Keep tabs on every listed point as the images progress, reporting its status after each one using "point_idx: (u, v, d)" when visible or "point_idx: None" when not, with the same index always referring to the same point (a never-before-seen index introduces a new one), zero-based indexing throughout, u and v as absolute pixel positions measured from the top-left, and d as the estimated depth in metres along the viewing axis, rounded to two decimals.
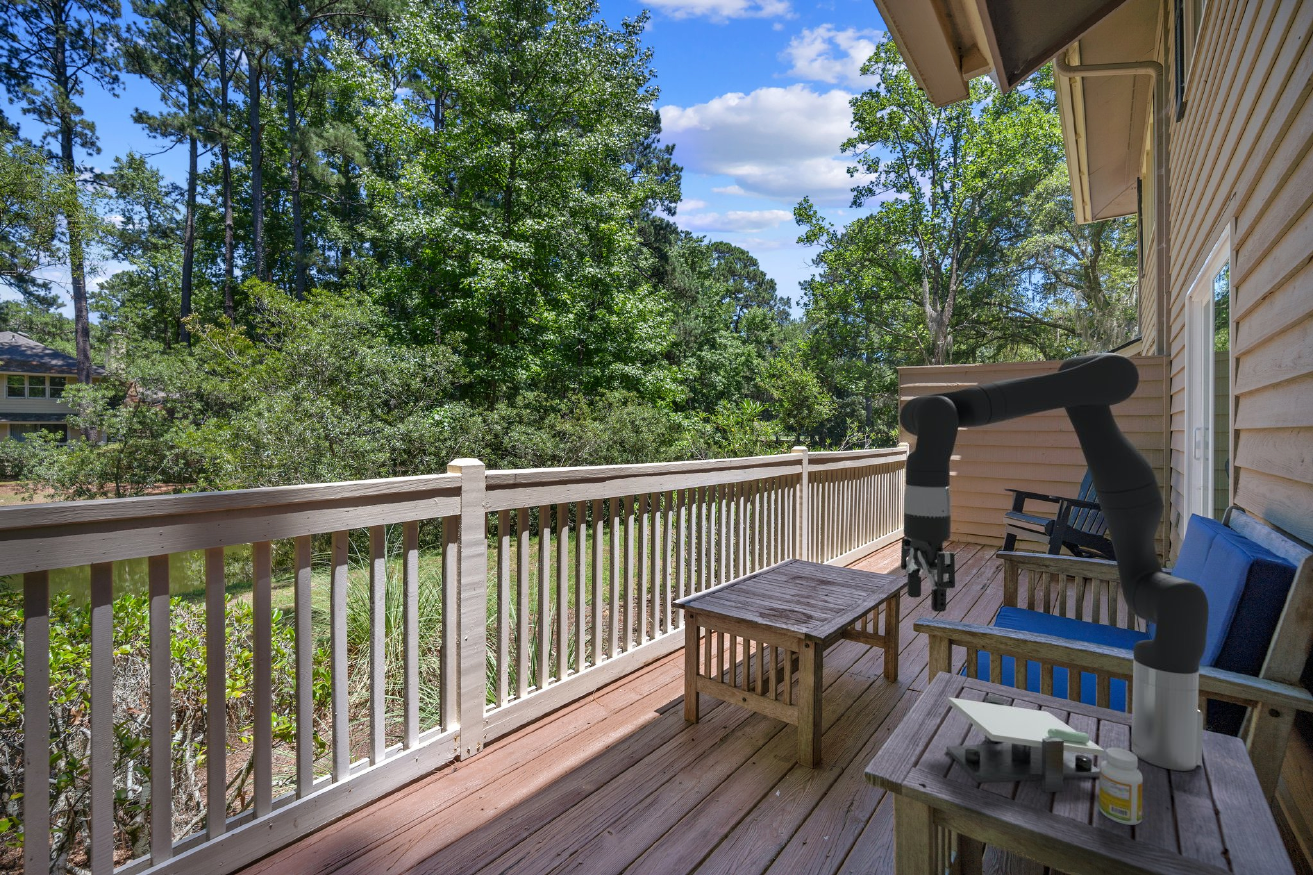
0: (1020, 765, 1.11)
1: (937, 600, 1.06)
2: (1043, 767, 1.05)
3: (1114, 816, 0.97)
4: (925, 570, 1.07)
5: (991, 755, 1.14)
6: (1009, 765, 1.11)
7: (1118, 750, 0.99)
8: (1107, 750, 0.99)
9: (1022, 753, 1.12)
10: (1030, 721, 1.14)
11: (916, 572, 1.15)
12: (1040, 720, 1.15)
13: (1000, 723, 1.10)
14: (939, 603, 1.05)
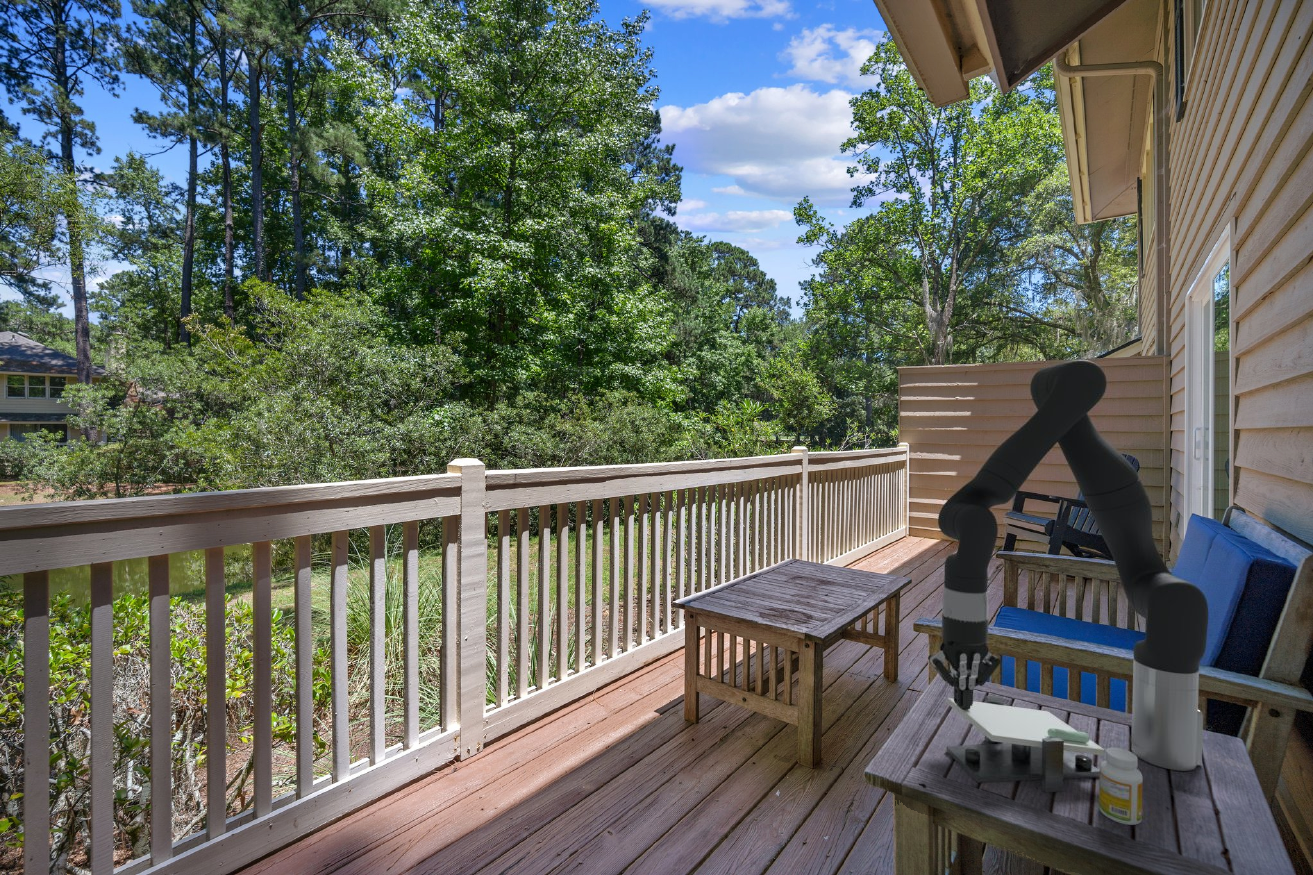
0: (1020, 765, 1.11)
1: (971, 697, 1.15)
2: (1043, 767, 1.05)
3: (1114, 816, 0.97)
4: (974, 672, 1.13)
5: (991, 755, 1.14)
6: (1009, 765, 1.11)
7: (1118, 750, 0.99)
8: (1107, 750, 0.99)
9: (1022, 753, 1.12)
10: (1030, 721, 1.14)
11: None
12: (1040, 720, 1.15)
13: (1000, 724, 1.10)
14: None
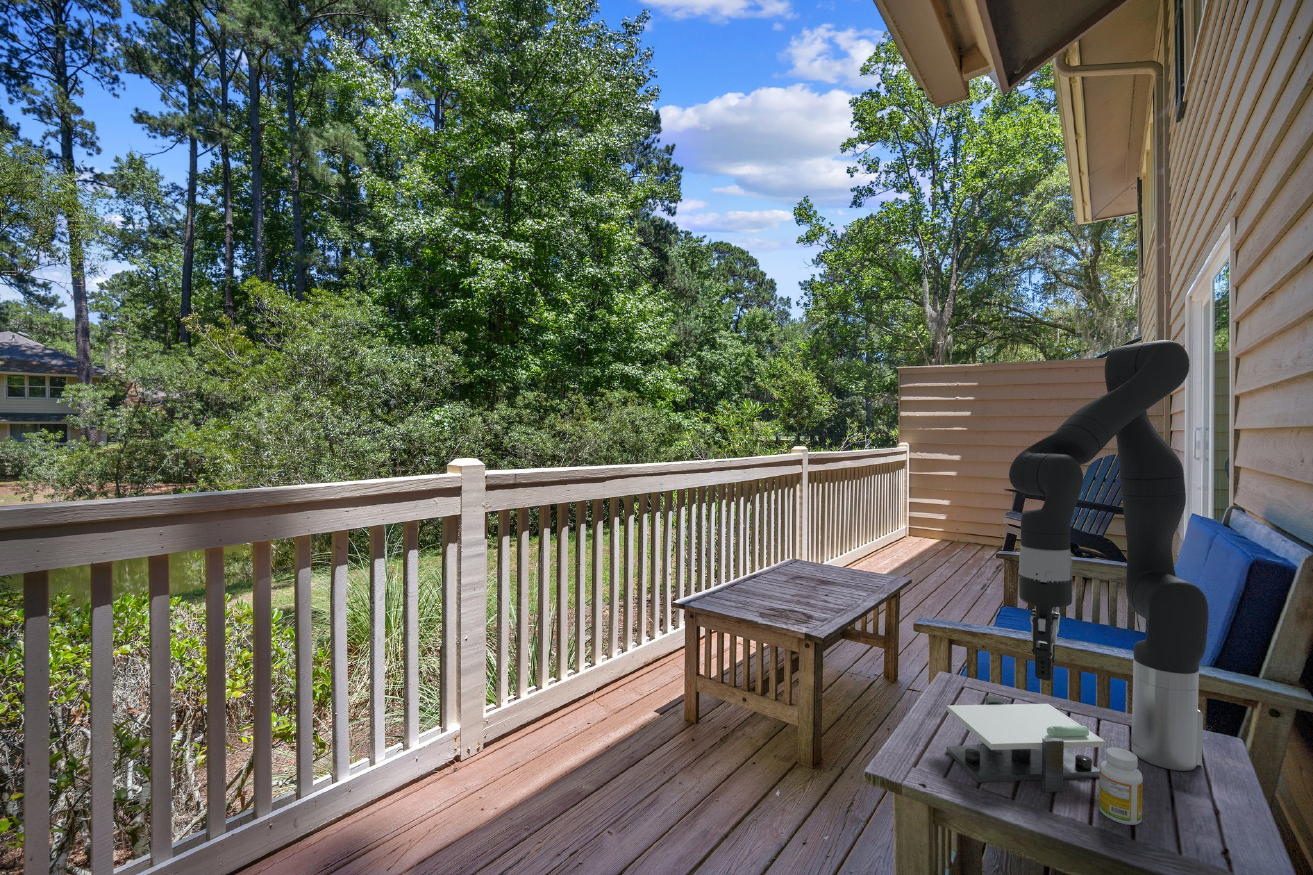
0: (1020, 765, 1.11)
1: None
2: (1043, 767, 1.05)
3: (1114, 816, 0.97)
4: (1058, 627, 1.07)
5: (991, 755, 1.14)
6: (1009, 765, 1.11)
7: (1118, 750, 0.99)
8: (1107, 750, 0.99)
9: (1022, 753, 1.12)
10: (1030, 720, 1.14)
11: None
12: (1040, 716, 1.15)
13: (999, 728, 1.10)
14: None
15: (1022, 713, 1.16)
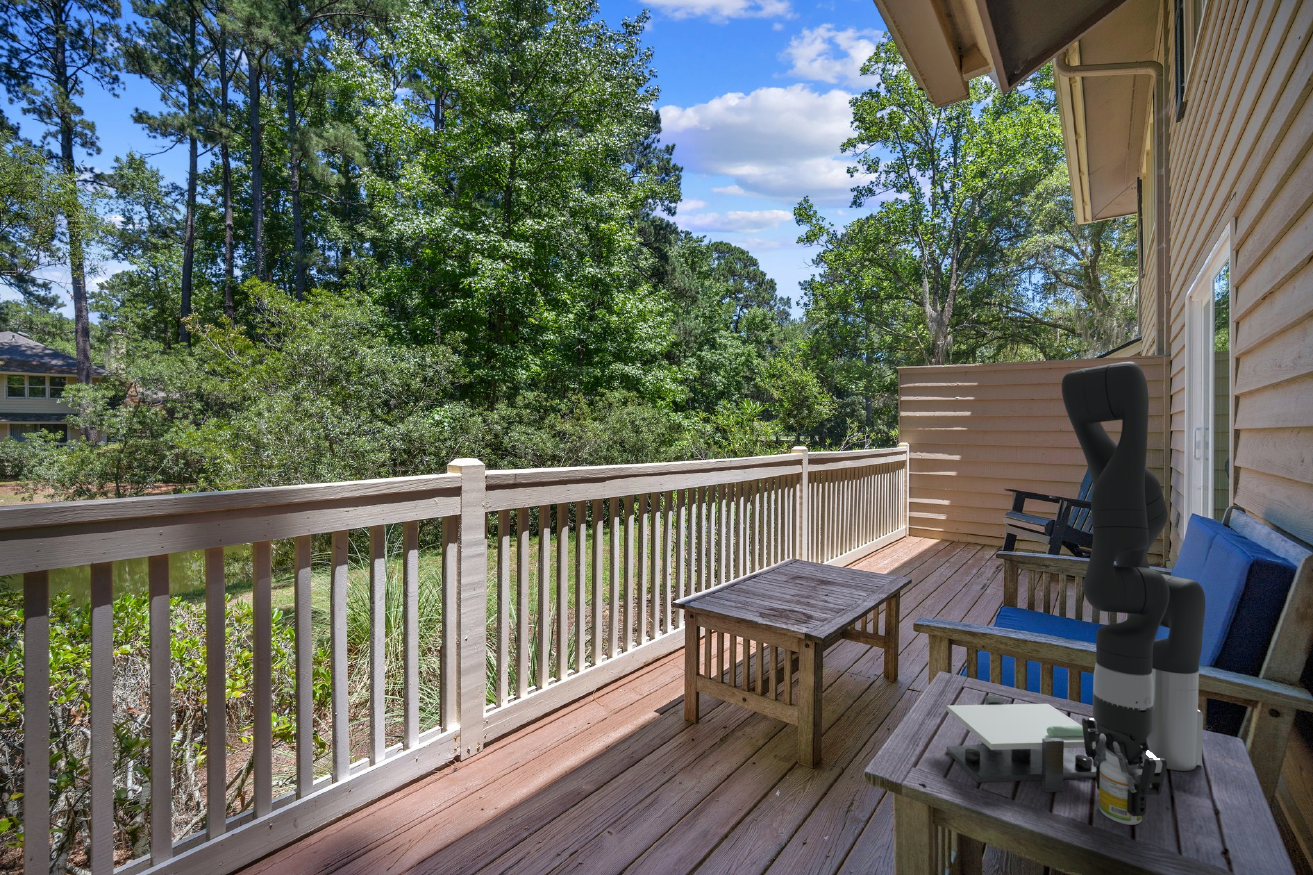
0: (1020, 765, 1.11)
1: None
2: (1043, 767, 1.05)
3: (1114, 816, 0.97)
4: None
5: (991, 755, 1.14)
6: (1009, 765, 1.11)
7: None
8: (1107, 750, 0.99)
9: (1022, 753, 1.12)
10: (1030, 720, 1.14)
11: None
12: (1040, 716, 1.15)
13: (999, 728, 1.10)
14: None
15: (1022, 713, 1.16)
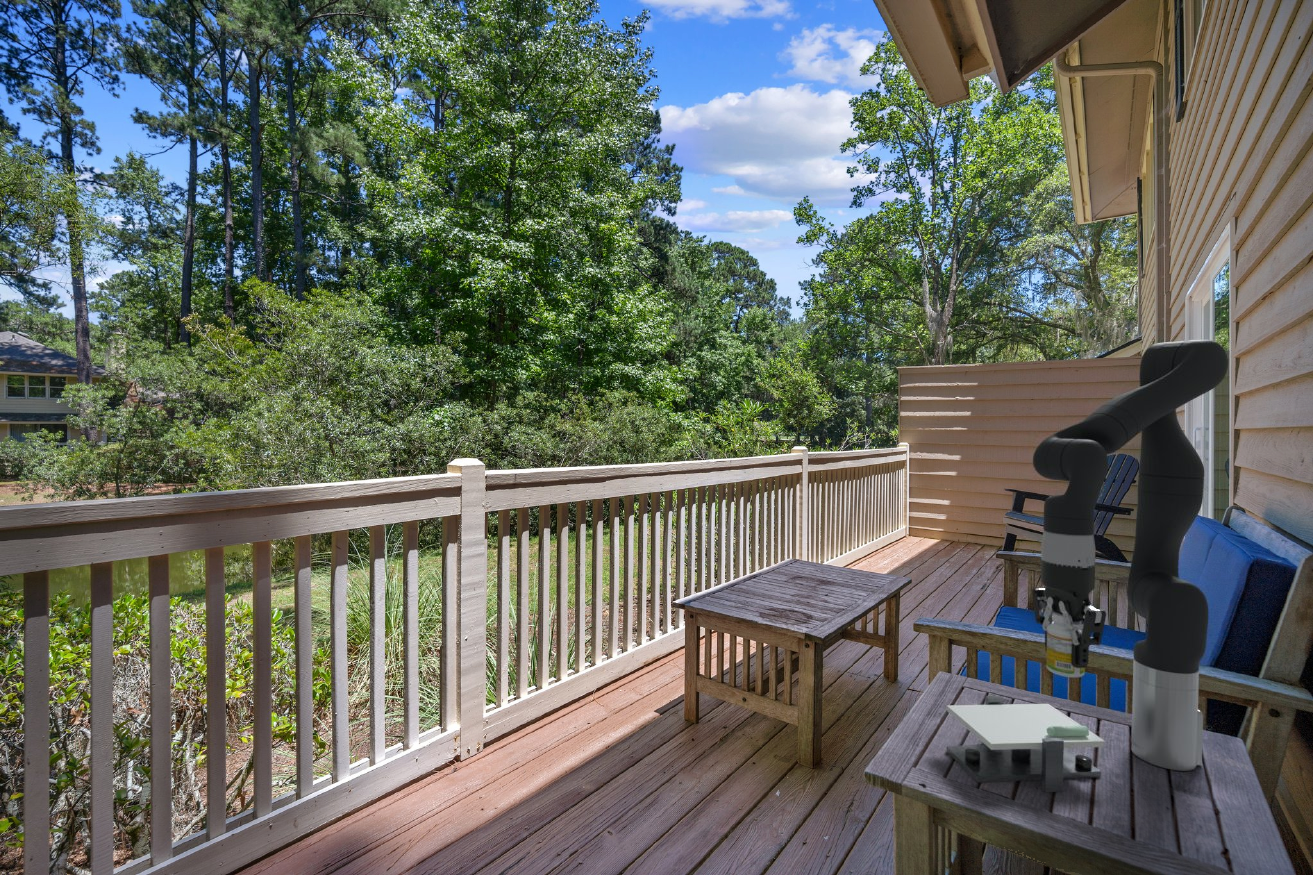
0: (1020, 765, 1.11)
1: None
2: (1043, 767, 1.05)
3: (1059, 670, 1.04)
4: None
5: (991, 755, 1.14)
6: (1009, 765, 1.11)
7: None
8: (1053, 612, 1.06)
9: (1022, 753, 1.12)
10: (1030, 720, 1.14)
11: None
12: (1040, 716, 1.15)
13: (999, 728, 1.10)
14: None
15: (1022, 713, 1.16)
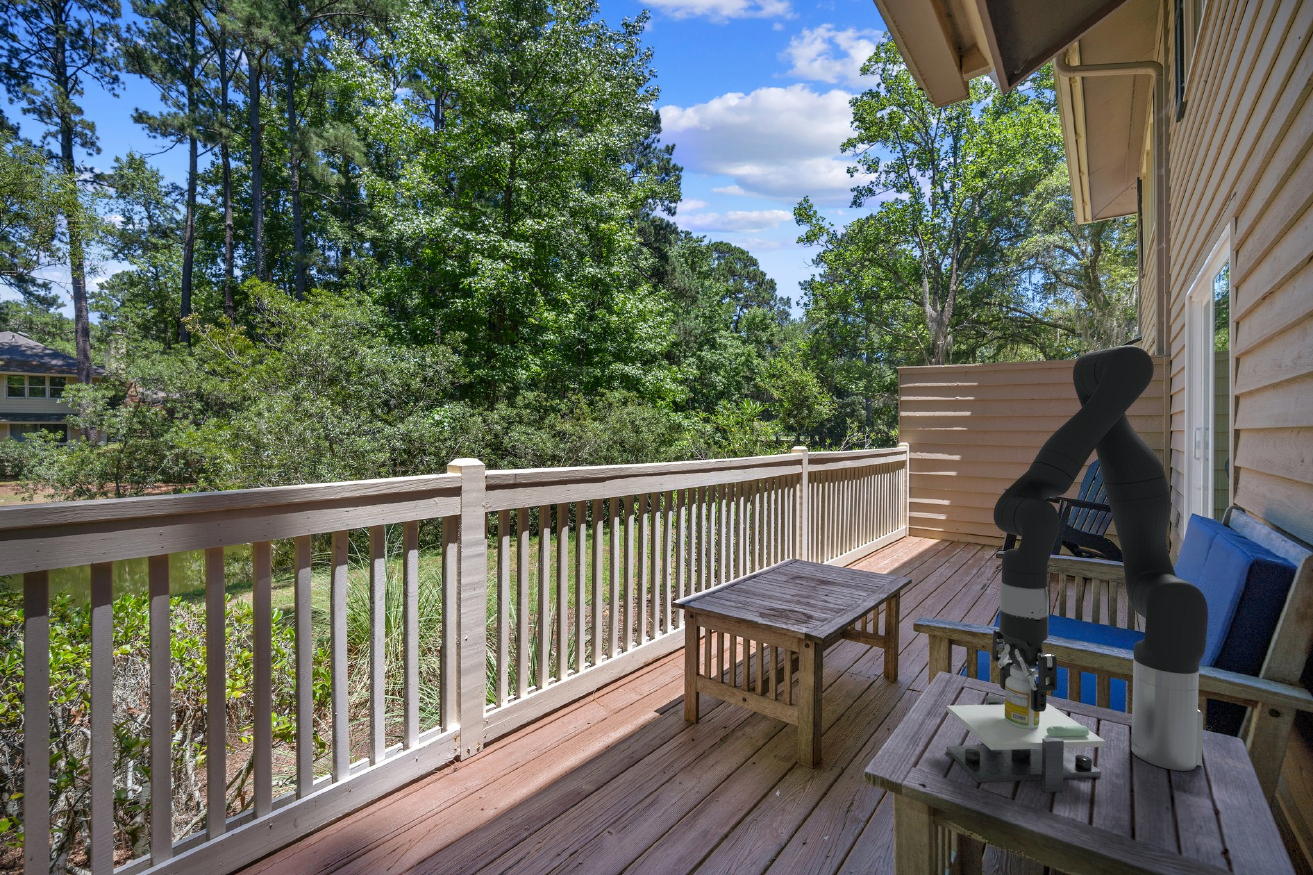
0: (1020, 765, 1.11)
1: None
2: (1043, 767, 1.05)
3: (1015, 722, 1.11)
4: None
5: (991, 755, 1.14)
6: (1009, 765, 1.11)
7: None
8: (1011, 666, 1.14)
9: (1022, 753, 1.12)
10: None
11: None
12: (1040, 716, 1.15)
13: (999, 728, 1.10)
14: None
15: None
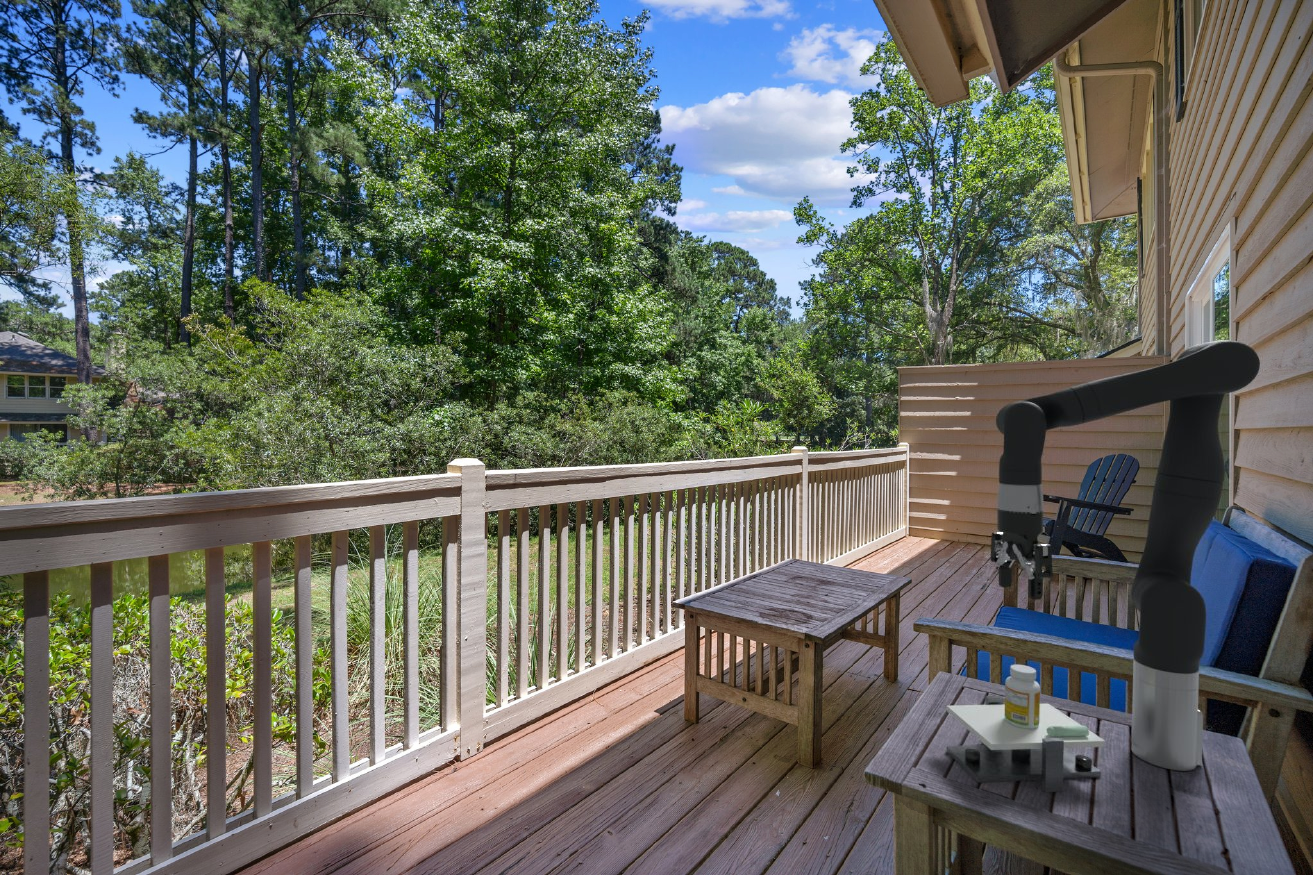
0: (1020, 765, 1.11)
1: None
2: (1043, 767, 1.05)
3: (1015, 722, 1.11)
4: None
5: (991, 755, 1.14)
6: (1009, 765, 1.11)
7: (1021, 666, 1.14)
8: (1011, 666, 1.14)
9: (1022, 753, 1.12)
10: None
11: None
12: (1040, 716, 1.15)
13: (999, 728, 1.10)
14: None
15: None
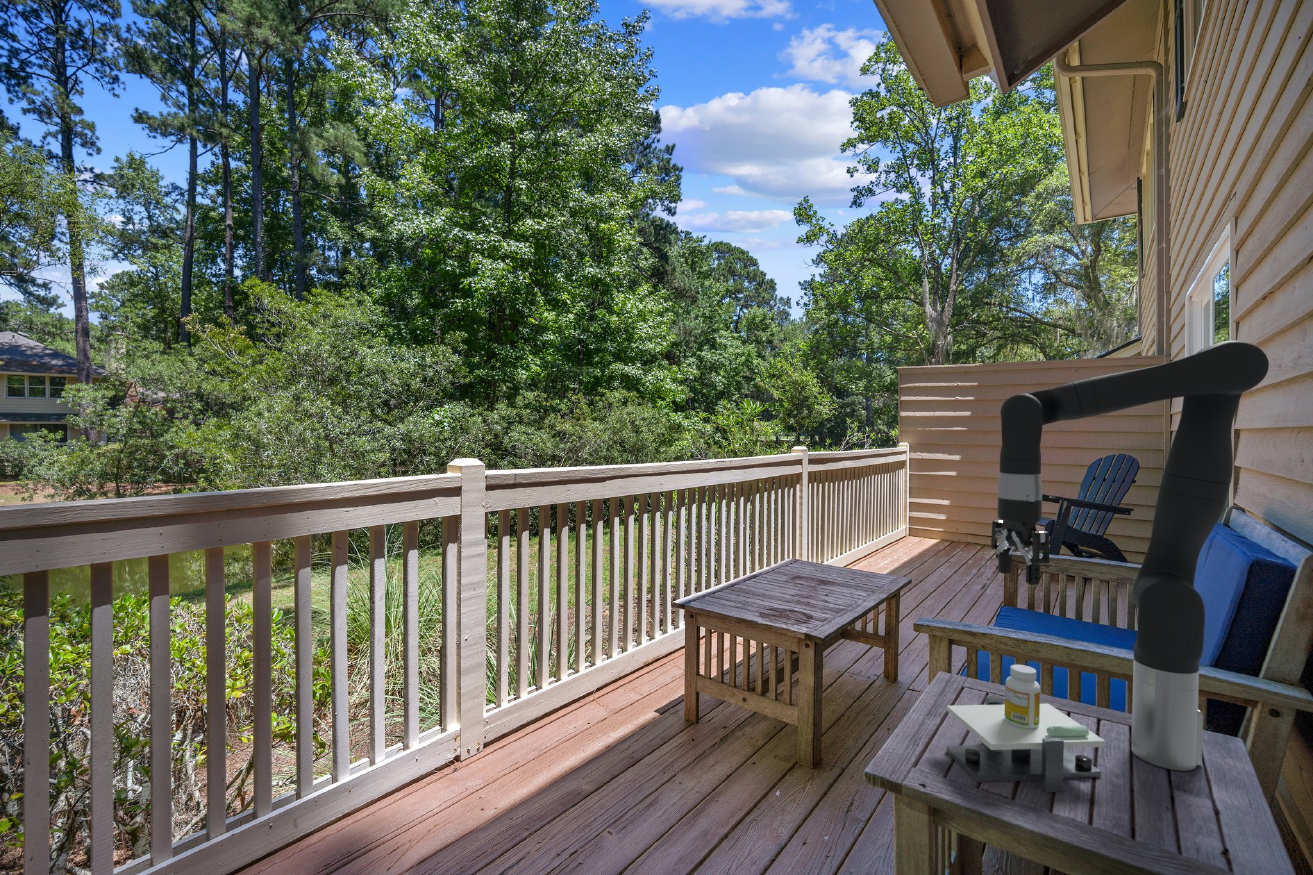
0: (1020, 765, 1.11)
1: None
2: (1043, 767, 1.05)
3: (1015, 722, 1.11)
4: None
5: (991, 755, 1.14)
6: (1009, 765, 1.11)
7: (1021, 666, 1.14)
8: (1011, 666, 1.14)
9: (1022, 753, 1.12)
10: None
11: None
12: (1040, 716, 1.15)
13: (999, 728, 1.10)
14: None
15: None
